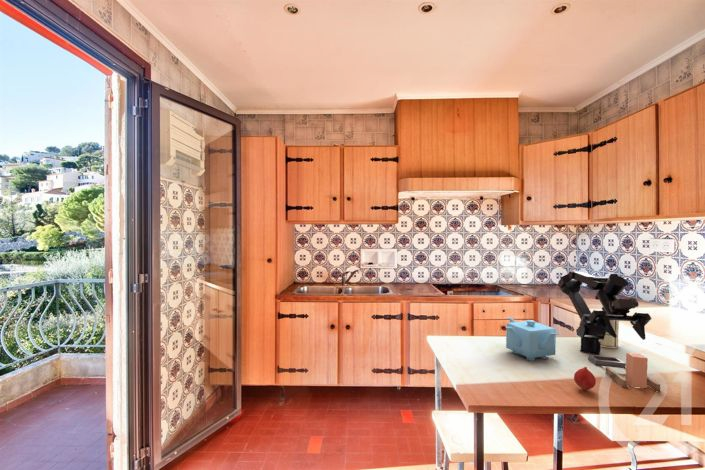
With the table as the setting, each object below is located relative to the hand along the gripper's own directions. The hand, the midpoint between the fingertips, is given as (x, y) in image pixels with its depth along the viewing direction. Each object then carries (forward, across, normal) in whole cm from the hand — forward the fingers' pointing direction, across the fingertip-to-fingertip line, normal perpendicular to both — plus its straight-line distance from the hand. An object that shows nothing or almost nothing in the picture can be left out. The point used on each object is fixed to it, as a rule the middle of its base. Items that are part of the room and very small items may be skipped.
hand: (629, 338), depth 114 cm
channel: (+13, -2, +7) cm, 15 cm away
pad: (+6, -2, +13) cm, 15 cm away
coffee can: (-17, +12, +35) cm, 41 cm away
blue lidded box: (0, -29, +20) cm, 35 cm away
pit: (+1, -1, +18) cm, 18 cm away
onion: (+20, -22, +1) cm, 30 cm away
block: (+15, -2, +6) cm, 16 cm away
